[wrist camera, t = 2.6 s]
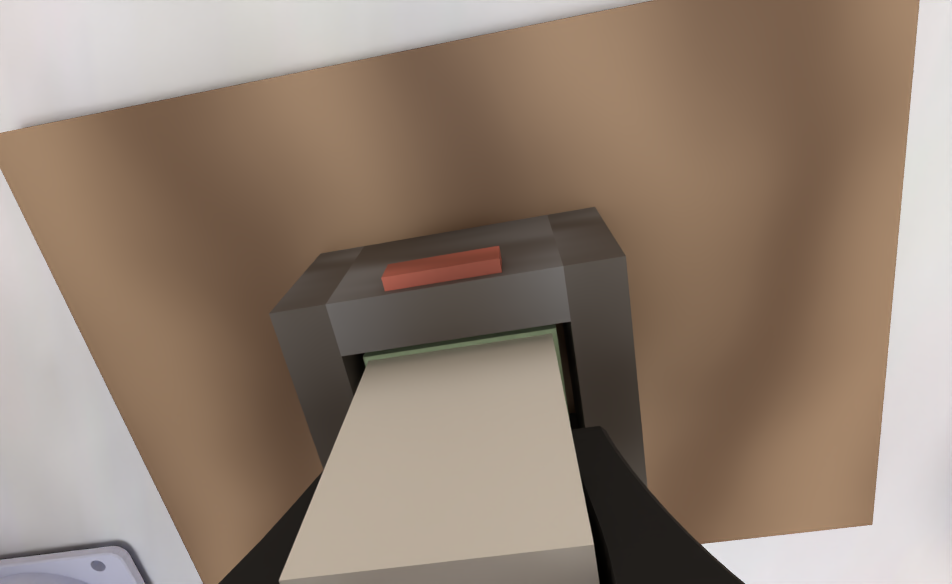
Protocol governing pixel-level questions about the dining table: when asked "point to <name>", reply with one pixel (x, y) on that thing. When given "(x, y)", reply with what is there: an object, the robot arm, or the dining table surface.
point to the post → (452, 472)
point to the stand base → (507, 251)
